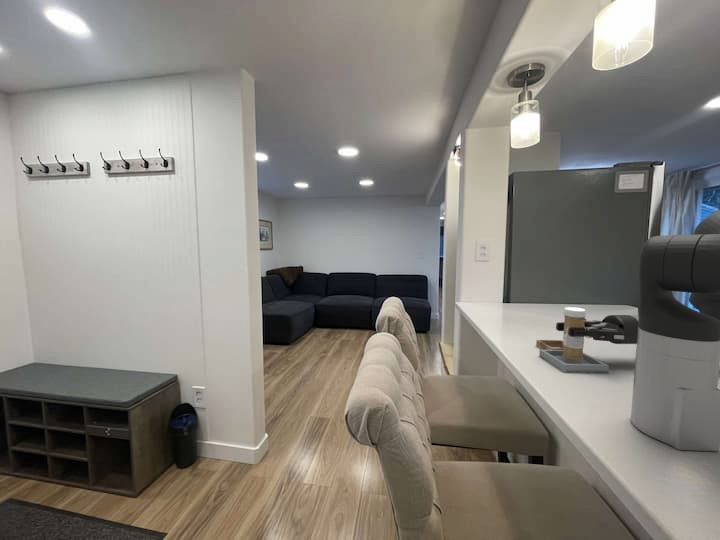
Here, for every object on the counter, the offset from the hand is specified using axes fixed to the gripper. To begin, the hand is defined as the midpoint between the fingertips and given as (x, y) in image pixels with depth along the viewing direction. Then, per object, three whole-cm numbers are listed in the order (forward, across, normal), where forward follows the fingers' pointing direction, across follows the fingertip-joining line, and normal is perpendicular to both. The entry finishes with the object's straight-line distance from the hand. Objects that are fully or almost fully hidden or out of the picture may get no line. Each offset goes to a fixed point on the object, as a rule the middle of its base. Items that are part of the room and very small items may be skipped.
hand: (563, 329), depth 75 cm
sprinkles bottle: (-3, 0, +8) cm, 8 cm away
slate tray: (-2, 0, +10) cm, 10 cm away
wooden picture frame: (-5, -10, +10) cm, 15 cm away
